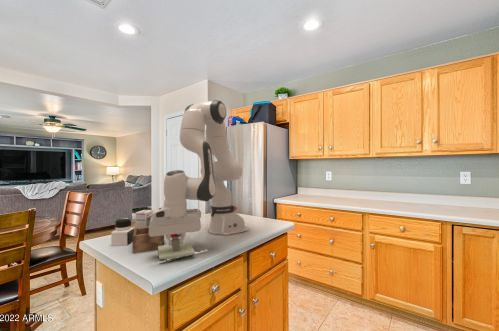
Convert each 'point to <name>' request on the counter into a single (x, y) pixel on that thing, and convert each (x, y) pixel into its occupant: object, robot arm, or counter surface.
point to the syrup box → (143, 218)
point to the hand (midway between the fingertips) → (175, 244)
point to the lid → (175, 249)
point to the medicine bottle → (122, 233)
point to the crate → (145, 240)
